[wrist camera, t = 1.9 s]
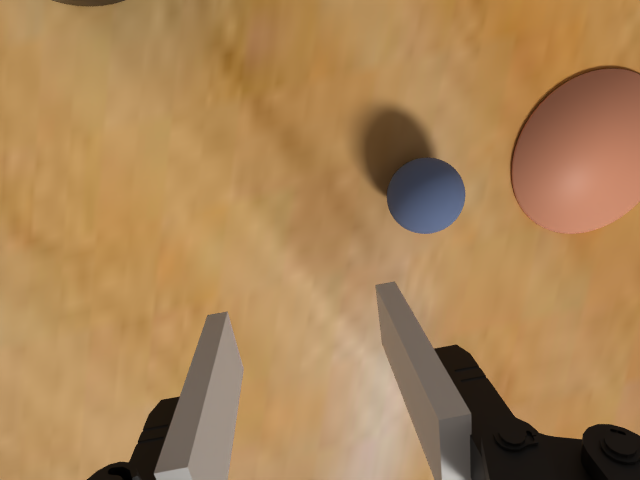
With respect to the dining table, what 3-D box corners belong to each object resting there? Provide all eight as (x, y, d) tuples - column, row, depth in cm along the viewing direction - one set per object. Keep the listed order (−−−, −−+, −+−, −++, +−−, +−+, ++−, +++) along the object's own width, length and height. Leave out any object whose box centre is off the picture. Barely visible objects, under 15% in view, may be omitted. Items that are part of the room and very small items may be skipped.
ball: (367, 174, 30) (384, 191, 25) (431, 139, 30) (461, 149, 25) (396, 231, 32) (417, 258, 27) (457, 199, 32) (490, 220, 27)
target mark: (489, 124, 30) (490, 124, 30) (652, 33, 28) (655, 33, 28) (537, 258, 34) (539, 259, 34) (680, 186, 33) (682, 186, 33)
